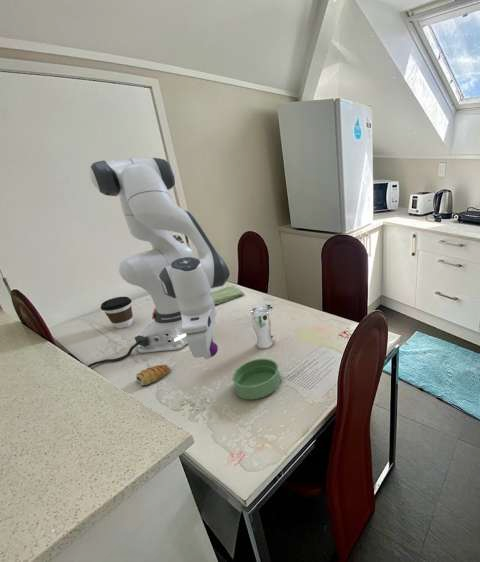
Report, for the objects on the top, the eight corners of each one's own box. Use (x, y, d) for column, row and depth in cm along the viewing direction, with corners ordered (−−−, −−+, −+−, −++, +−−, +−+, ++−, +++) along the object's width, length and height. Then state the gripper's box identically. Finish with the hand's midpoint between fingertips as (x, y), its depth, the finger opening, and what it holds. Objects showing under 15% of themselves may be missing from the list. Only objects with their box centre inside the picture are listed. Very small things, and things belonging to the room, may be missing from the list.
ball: (200, 362, 94) (196, 349, 92) (202, 353, 99) (199, 340, 97) (218, 359, 96) (215, 345, 94) (220, 349, 100) (216, 336, 98)
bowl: (235, 405, 97) (231, 392, 94) (236, 376, 109) (233, 364, 107) (282, 394, 101) (279, 380, 99) (278, 367, 113) (276, 354, 111)
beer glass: (268, 350, 123) (263, 317, 117) (252, 348, 124) (246, 315, 118) (277, 340, 129) (272, 308, 123) (262, 338, 130) (256, 306, 124)
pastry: (164, 366, 115) (161, 357, 113) (173, 373, 111) (170, 364, 109) (135, 380, 107) (132, 372, 106) (144, 388, 104) (140, 379, 102)
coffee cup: (110, 334, 135) (100, 310, 130) (108, 324, 142) (98, 301, 137) (140, 325, 141) (132, 301, 136) (137, 316, 149) (129, 293, 144)
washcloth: (245, 295, 168) (244, 290, 167) (212, 307, 156) (211, 301, 155) (234, 288, 176) (233, 283, 175) (202, 299, 164) (200, 294, 163)
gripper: (192, 299, 99) (202, 335, 105) (179, 332, 81) (192, 374, 87) (214, 296, 101) (223, 332, 106) (206, 328, 83) (217, 369, 89)
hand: (209, 351), depth 97 cm, fingers closed on ball, 5 cm apart
